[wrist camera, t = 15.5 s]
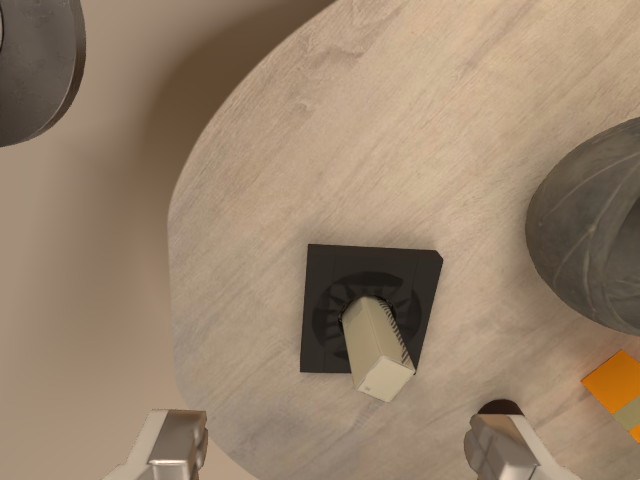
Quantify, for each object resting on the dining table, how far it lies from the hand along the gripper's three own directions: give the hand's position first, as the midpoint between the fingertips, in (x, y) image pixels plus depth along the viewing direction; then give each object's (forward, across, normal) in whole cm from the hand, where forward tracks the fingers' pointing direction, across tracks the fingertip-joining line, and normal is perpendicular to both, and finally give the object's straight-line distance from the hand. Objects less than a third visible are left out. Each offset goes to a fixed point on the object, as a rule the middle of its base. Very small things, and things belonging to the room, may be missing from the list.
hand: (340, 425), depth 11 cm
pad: (+31, -8, +17) cm, 36 cm away
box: (+31, -8, +17) cm, 36 cm away
